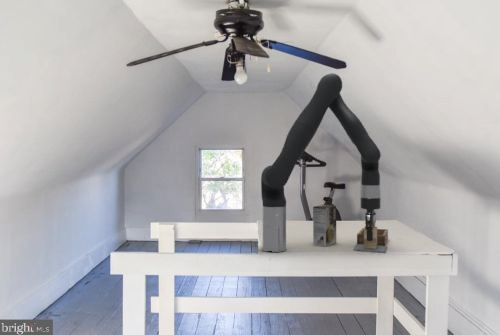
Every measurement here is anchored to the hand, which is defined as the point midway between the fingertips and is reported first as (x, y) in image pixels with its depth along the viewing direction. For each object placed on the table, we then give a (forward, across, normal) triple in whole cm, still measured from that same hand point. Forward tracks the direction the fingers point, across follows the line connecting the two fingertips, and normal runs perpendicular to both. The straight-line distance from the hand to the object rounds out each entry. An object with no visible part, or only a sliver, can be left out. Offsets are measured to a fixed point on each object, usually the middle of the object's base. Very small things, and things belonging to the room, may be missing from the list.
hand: (370, 239), depth 170 cm
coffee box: (+4, -4, -19) cm, 20 cm away
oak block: (+3, 0, 0) cm, 3 cm away
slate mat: (+4, 0, 0) cm, 4 cm away
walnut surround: (+4, -15, 0) cm, 16 cm away
